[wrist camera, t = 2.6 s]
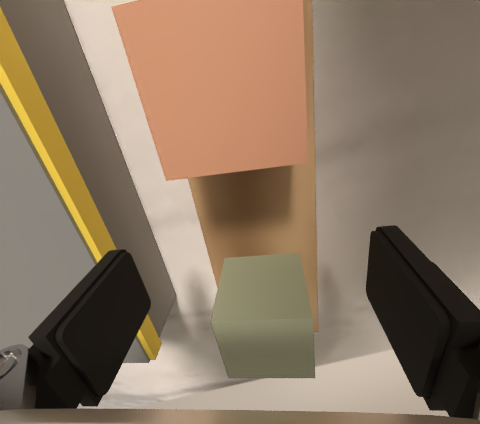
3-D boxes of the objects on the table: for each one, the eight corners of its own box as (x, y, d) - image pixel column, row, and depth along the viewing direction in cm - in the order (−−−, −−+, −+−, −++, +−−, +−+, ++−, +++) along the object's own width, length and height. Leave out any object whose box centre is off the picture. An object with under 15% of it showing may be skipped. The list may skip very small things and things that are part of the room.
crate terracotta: (285, 9, 9) (301, -41, 5) (293, 133, 11) (308, 163, 7) (172, 34, 10) (111, 7, 6) (198, 146, 12) (166, 180, 8)
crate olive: (299, 252, 14) (312, 318, 11) (303, 306, 17) (315, 378, 13) (224, 258, 15) (210, 321, 11) (236, 309, 17) (228, 377, 13)
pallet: (296, -43, 11) (310, -95, 8) (309, 289, 21) (318, 331, 18) (166, -10, 12) (127, -45, 9) (235, 293, 22) (230, 334, 19)
